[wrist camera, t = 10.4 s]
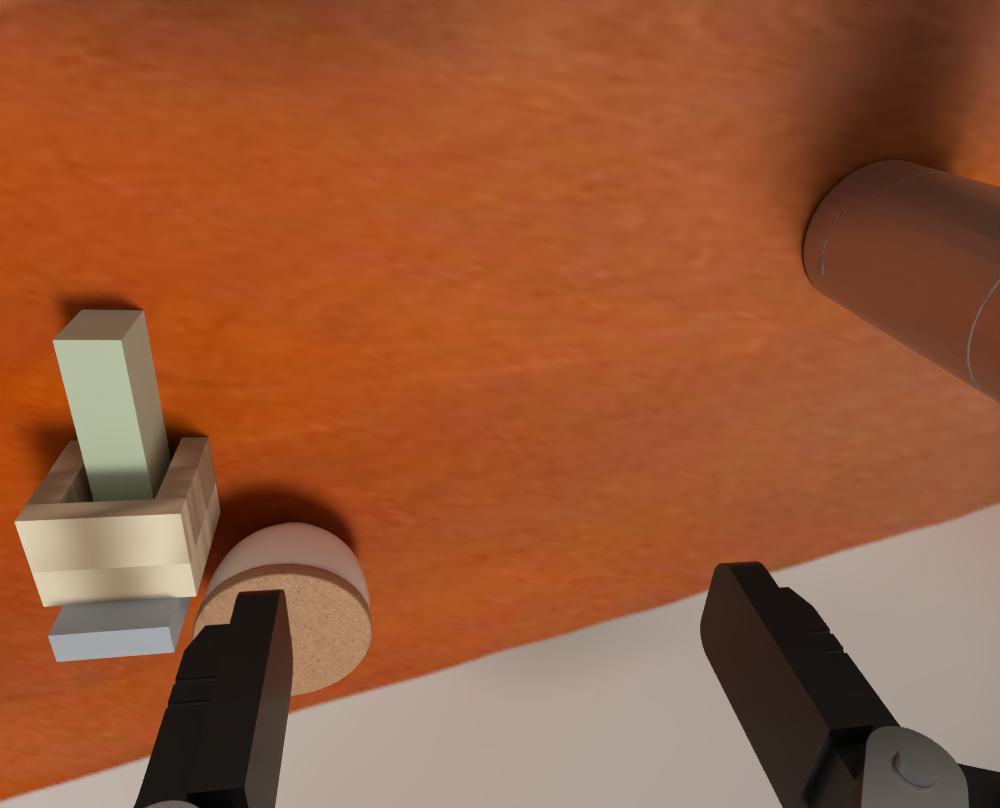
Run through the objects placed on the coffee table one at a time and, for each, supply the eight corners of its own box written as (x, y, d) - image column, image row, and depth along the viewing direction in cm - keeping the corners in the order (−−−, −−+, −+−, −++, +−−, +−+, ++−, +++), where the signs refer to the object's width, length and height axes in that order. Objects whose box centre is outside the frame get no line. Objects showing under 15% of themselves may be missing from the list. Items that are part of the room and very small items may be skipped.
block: (208, 436, 44) (180, 513, 37) (220, 512, 46) (196, 596, 40) (70, 440, 42) (14, 521, 35) (91, 518, 45) (43, 606, 38)
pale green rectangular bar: (144, 308, 39) (121, 340, 35) (175, 481, 45) (158, 524, 41) (83, 308, 39) (52, 339, 35) (122, 483, 44) (100, 526, 41)
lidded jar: (285, 630, 53) (270, 742, 45) (181, 547, 47) (143, 657, 39) (400, 562, 51) (406, 664, 43) (306, 468, 46) (294, 565, 38)
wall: (204, 512, 46) (168, 626, 38) (208, 536, 47) (174, 652, 39) (107, 517, 45) (47, 635, 37) (114, 541, 46) (57, 661, 38)
